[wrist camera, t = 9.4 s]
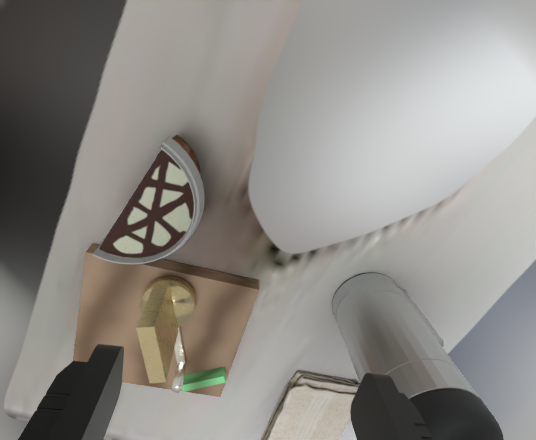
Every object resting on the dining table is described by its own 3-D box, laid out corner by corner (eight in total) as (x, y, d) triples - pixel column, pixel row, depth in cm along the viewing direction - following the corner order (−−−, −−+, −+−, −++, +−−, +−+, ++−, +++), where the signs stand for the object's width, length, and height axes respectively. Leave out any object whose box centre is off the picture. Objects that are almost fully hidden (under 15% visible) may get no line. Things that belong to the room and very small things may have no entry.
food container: (174, 241, 39) (154, 292, 30) (126, 213, 37) (89, 259, 28) (234, 158, 36) (232, 187, 26) (184, 122, 34) (163, 141, 25)
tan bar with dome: (139, 274, 38) (111, 329, 30) (192, 270, 38) (178, 324, 30) (159, 367, 44) (141, 435, 36) (205, 364, 44) (197, 430, 36)
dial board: (258, 280, 42) (259, 297, 39) (220, 384, 49) (219, 407, 46) (93, 243, 38) (79, 259, 35) (78, 362, 45) (65, 384, 42)
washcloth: (363, 377, 51) (370, 395, 49) (322, 449, 58) (327, 469, 55) (291, 365, 49) (294, 382, 46) (257, 441, 56) (258, 461, 53)
